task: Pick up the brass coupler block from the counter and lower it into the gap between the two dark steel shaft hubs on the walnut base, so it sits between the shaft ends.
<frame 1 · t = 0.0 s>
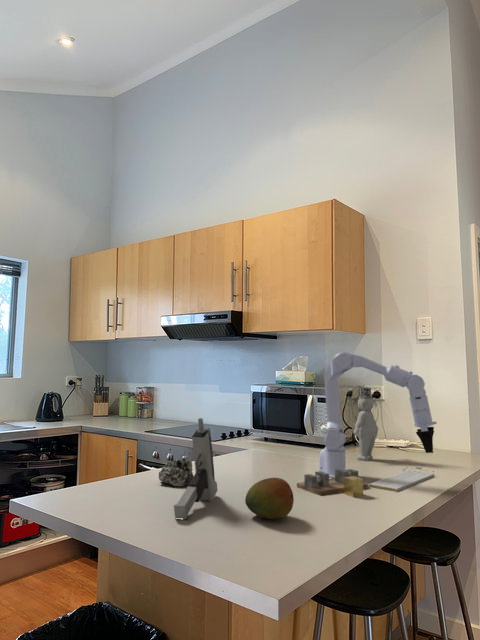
hand: (429, 450, 162), 11 cm above the countertop, tool pointing down, fingers open, 7 cm apart
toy: (367, 460, 203), on the countertop
shaft base: (332, 487, 154), on the countertop
baseboard molding: (399, 483, 164), on the countertop
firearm: (196, 507, 132), on the countertop
fruit: (268, 519, 122), on the countertop
coupler: (353, 495, 145), on the countertop
rock: (176, 484, 159), on the countertop
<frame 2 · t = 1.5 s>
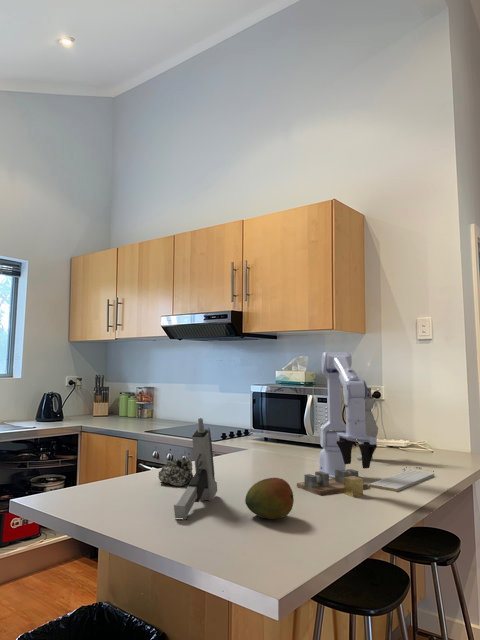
hand: (356, 466, 146), 8 cm above the countertop, tool pointing down, fingers open, 7 cm apart
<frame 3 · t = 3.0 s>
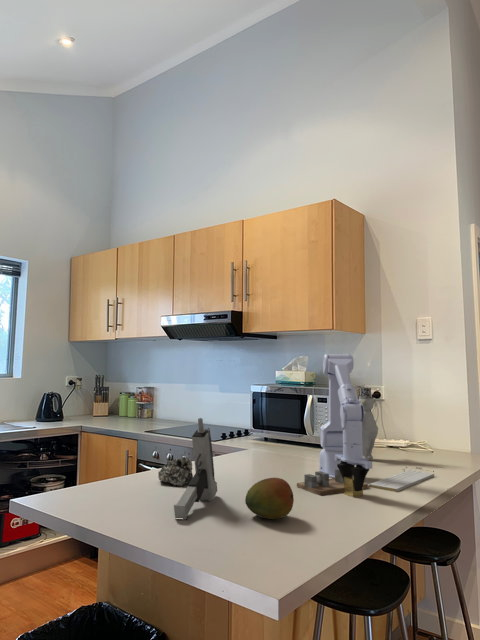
hand: (353, 489, 145), 2 cm above the countertop, tool pointing down, fingers closed on coupler, 4 cm apart
coupler: (353, 494, 145), on the countertop, touching gripper
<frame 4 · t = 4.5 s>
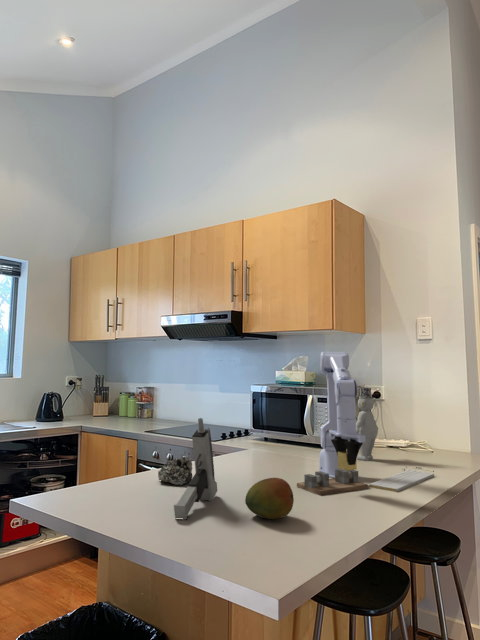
hand: (347, 463, 149), 9 cm above the countertop, tool pointing down, fingers closed on coupler, 4 cm apart
coupler: (347, 468, 148), point 7 cm above the countertop, touching gripper
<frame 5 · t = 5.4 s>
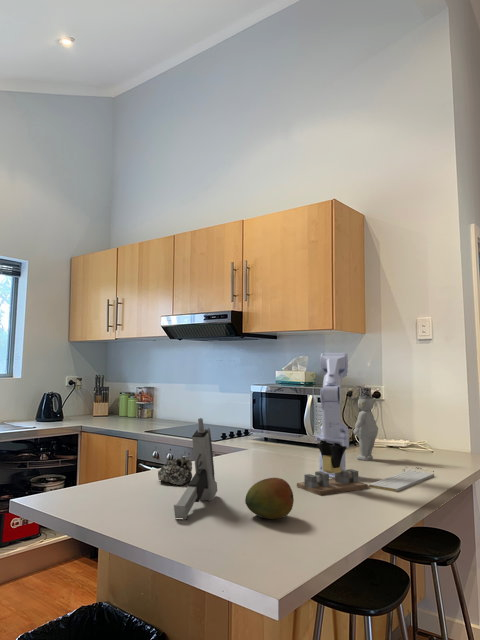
hand: (331, 466, 155), 7 cm above the countertop, tool pointing down, fingers closed on coupler, 4 cm apart
coupler: (331, 471, 155), point 5 cm above the countertop, touching gripper
when the fingers open (4 cm above the countertop, at t = 6.2 s): coupler drops 1 cm, resting on shaft base.
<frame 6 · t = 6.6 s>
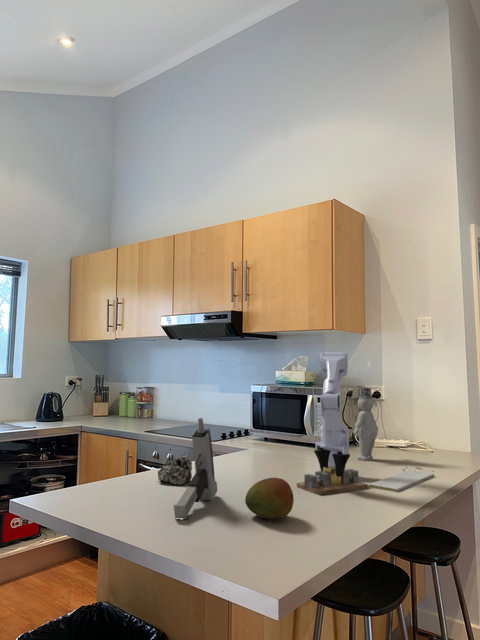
hand: (331, 474, 154), 4 cm above the countertop, tool pointing down, fingers open, 7 cm apart
coupler: (332, 483, 154), point 1 cm above the countertop, touching shaft base
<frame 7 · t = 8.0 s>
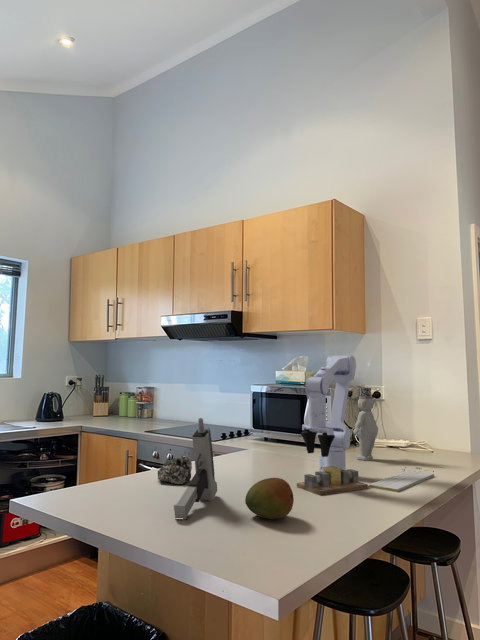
hand: (317, 454, 160), 9 cm above the countertop, tool pointing down, fingers open, 7 cm apart
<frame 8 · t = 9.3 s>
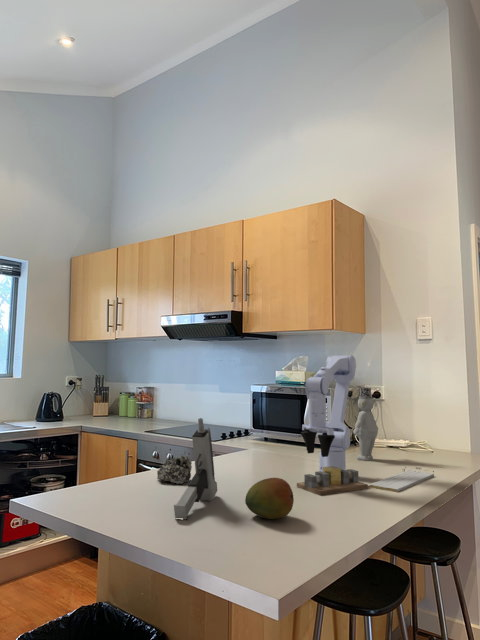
hand: (317, 454, 160), 9 cm above the countertop, tool pointing down, fingers open, 7 cm apart
at the end: coupler 0.0 cm off-centre on the shaft base, point 1.2 cm above the shaft base's base; coupler tilted 0°; the gripper is holding nothing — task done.
